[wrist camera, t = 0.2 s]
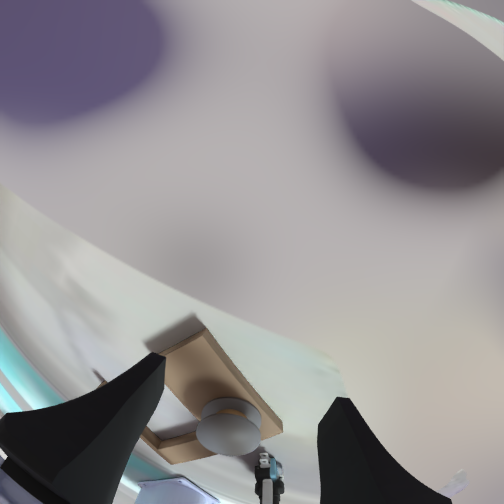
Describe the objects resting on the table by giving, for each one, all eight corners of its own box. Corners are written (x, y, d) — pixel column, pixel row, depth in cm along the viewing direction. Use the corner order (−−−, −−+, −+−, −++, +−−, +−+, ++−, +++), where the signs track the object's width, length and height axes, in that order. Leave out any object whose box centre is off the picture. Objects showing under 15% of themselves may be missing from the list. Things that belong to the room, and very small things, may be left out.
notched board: (174, 456, 23) (165, 480, 19) (102, 382, 22) (83, 403, 18) (282, 421, 22) (284, 452, 18) (206, 327, 21) (194, 352, 17)
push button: (239, 450, 23) (230, 525, 13) (290, 446, 22) (295, 522, 12) (250, 480, 24) (245, 544, 14) (295, 476, 23) (300, 541, 13)
